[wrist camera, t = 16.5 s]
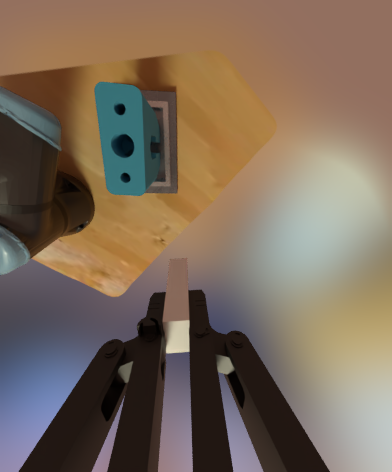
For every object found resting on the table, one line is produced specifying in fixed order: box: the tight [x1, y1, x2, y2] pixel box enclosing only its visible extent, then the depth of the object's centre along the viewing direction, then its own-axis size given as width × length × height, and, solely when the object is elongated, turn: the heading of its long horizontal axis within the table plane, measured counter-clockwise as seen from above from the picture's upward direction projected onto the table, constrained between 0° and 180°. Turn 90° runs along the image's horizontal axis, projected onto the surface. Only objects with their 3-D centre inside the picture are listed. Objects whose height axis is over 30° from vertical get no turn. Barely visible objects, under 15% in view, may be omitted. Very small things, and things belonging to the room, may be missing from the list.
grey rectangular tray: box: [140, 90, 177, 193], centre depth 40 cm, size 12×20×3 cm, turn 178°
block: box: [95, 82, 160, 196], centre depth 31 cm, size 12×5×20 cm, turn 175°
